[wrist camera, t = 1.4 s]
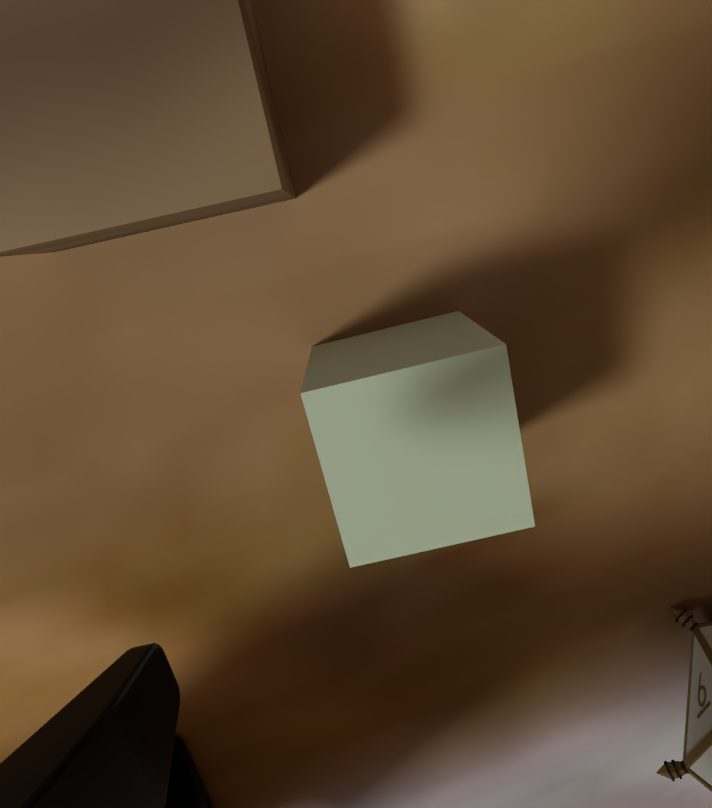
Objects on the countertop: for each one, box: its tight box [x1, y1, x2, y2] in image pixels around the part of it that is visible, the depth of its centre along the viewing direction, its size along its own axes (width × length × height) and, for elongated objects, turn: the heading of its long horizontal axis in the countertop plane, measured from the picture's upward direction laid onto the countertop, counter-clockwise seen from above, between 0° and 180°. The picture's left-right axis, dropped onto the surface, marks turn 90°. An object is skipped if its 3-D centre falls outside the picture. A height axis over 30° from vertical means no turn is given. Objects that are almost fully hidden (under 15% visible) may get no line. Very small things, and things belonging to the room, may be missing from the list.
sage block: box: [301, 311, 535, 568], centre depth 15 cm, size 4×4×5 cm
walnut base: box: [0, 0, 296, 256], centre depth 13 cm, size 7×7×4 cm
